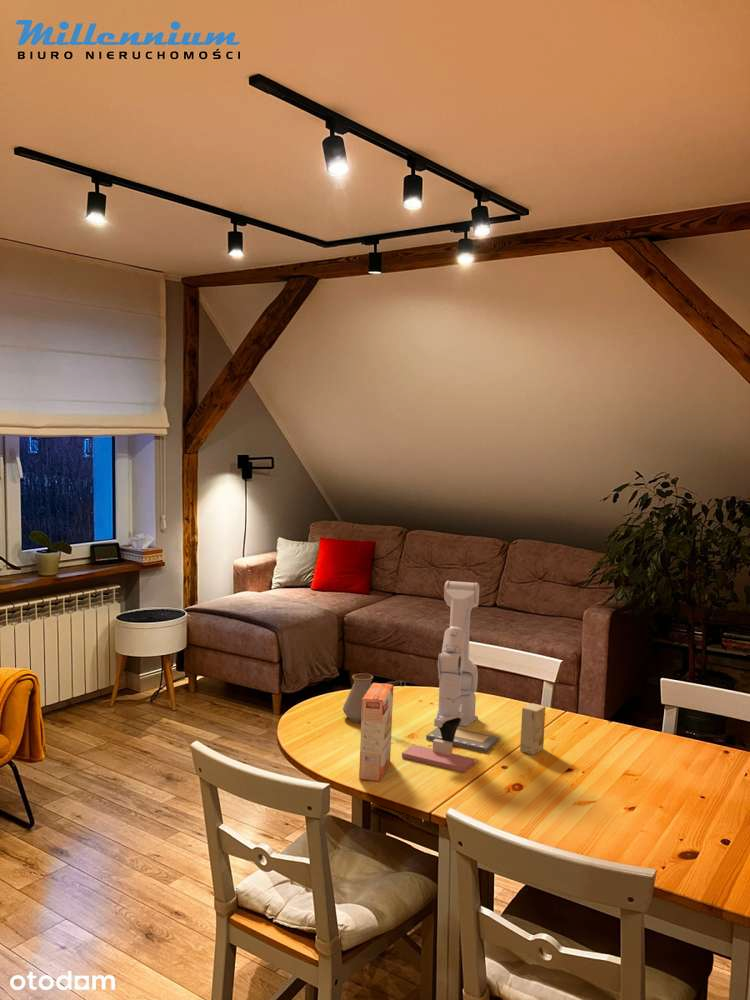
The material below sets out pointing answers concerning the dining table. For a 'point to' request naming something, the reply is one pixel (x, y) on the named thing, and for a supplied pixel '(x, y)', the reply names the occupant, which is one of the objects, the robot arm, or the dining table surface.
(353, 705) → the coffee pot
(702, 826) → the dining table surface
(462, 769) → the pink board with handle
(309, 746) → the dining table surface
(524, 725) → the skincare box
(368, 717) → the cracker box
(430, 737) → the ticket
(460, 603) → the robot arm
